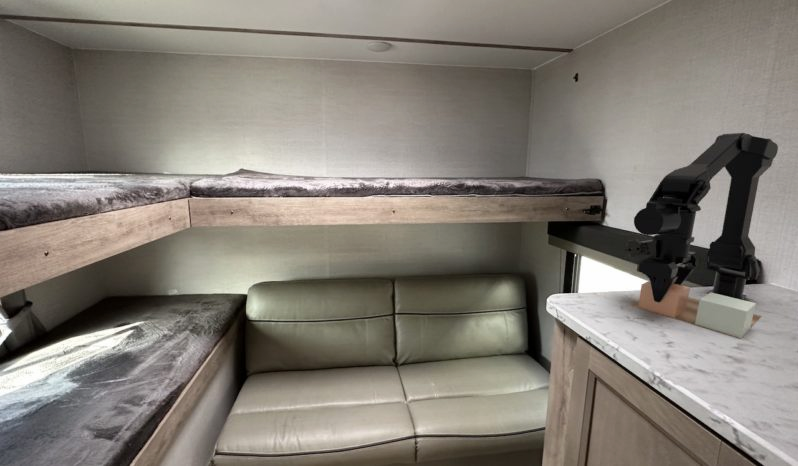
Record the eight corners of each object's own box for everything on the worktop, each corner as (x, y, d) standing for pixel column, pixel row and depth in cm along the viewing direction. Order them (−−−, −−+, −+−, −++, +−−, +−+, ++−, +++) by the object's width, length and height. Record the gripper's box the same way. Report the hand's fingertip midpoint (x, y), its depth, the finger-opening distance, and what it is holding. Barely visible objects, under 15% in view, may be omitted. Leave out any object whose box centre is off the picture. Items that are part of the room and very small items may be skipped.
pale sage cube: (705, 316, 75) (710, 292, 74) (750, 328, 70) (755, 303, 69) (694, 324, 72) (699, 299, 70) (740, 338, 66) (747, 311, 65)
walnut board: (661, 293, 91) (662, 290, 91) (761, 320, 76) (762, 316, 76) (631, 309, 81) (632, 305, 80) (739, 343, 66) (740, 338, 66)
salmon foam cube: (650, 300, 84) (654, 278, 83) (686, 310, 78) (690, 287, 77) (638, 306, 80) (641, 284, 79) (674, 317, 74) (678, 294, 73)
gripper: (650, 222, 87) (641, 280, 90) (616, 230, 77) (606, 295, 80) (706, 229, 78) (694, 294, 81) (676, 239, 68) (663, 312, 71)
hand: (663, 298), depth 79 cm, fingers closed on salmon foam cube, 7 cm apart
